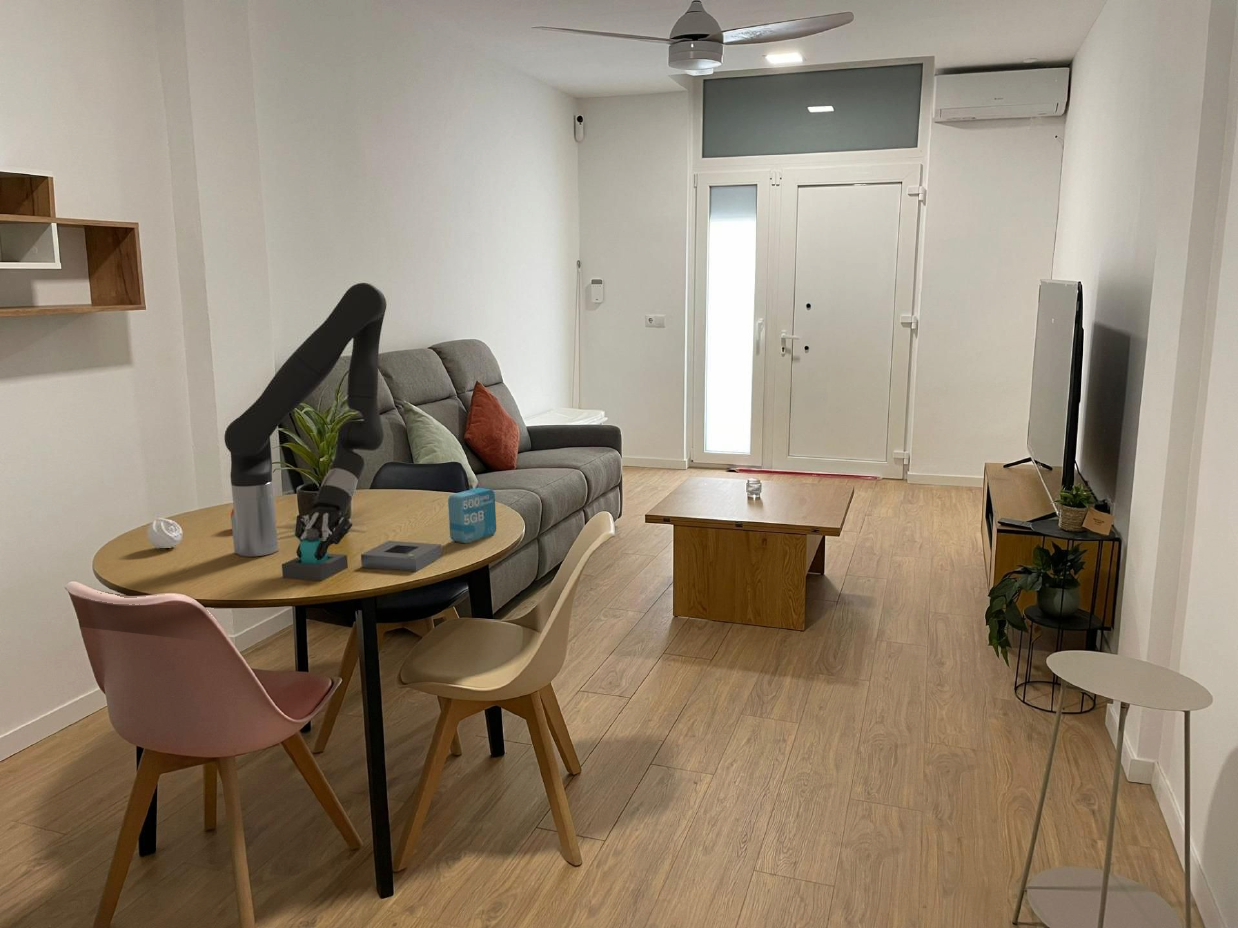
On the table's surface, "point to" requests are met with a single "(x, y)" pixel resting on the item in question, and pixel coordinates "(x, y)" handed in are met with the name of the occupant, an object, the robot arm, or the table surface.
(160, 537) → the motion sensor
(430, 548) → the port block
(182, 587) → the table surface
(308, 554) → the plug
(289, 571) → the holster
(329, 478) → the robot arm
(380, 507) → the table surface
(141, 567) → the table surface
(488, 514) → the data package
